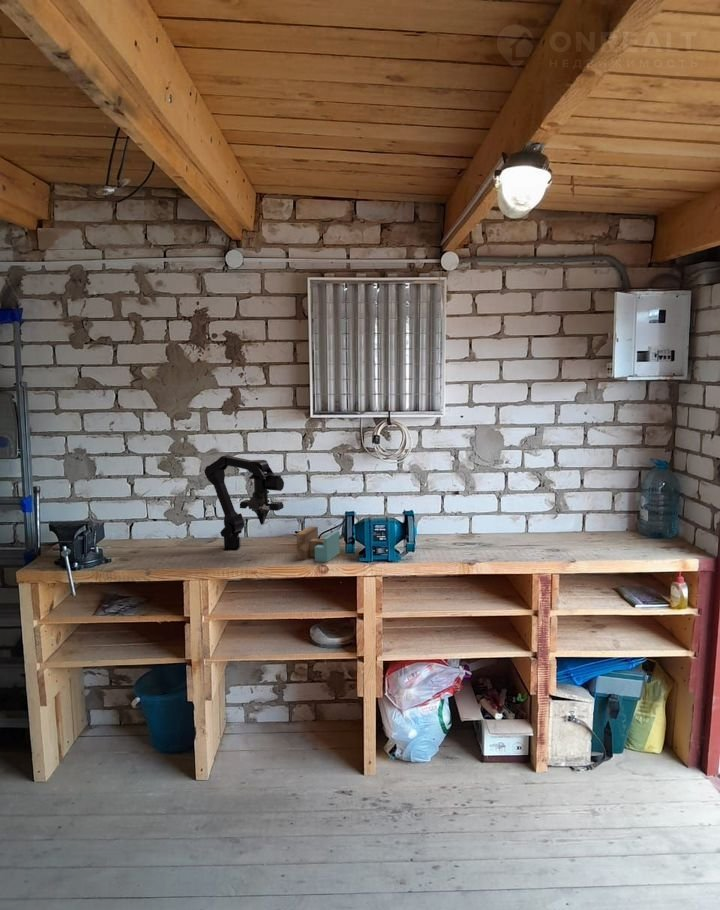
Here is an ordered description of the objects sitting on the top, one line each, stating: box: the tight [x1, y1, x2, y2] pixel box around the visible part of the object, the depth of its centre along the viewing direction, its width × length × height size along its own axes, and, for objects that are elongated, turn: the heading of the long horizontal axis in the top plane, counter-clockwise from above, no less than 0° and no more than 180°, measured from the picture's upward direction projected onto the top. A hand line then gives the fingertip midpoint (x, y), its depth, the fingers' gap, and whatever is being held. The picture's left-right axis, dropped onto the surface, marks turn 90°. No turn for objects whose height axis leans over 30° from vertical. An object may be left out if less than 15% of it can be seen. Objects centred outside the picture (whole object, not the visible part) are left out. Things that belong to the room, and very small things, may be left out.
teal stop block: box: [314, 529, 341, 563], centre depth 269 cm, size 6×14×10 cm, turn 160°
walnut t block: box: [296, 525, 323, 561], centre depth 271 cm, size 12×13×11 cm
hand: (262, 524), depth 277 cm, fingers closed
